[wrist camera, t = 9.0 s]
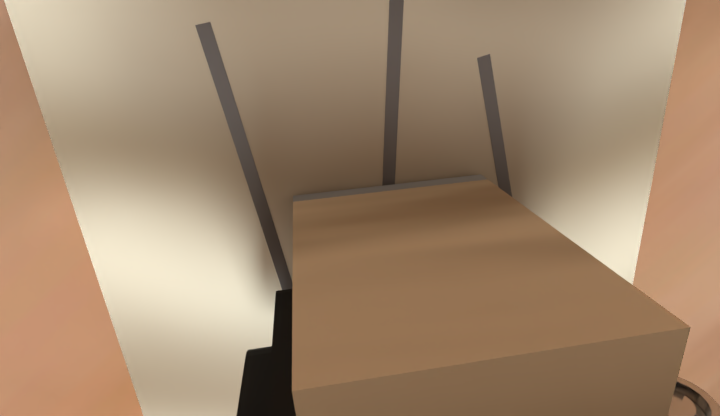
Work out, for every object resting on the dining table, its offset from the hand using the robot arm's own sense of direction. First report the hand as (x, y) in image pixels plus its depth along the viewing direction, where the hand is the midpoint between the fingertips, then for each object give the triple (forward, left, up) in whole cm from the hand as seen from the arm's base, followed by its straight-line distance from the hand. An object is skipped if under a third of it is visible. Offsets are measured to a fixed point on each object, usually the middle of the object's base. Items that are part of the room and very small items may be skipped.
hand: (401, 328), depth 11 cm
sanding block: (0, 0, -1) cm, 1 cm away
